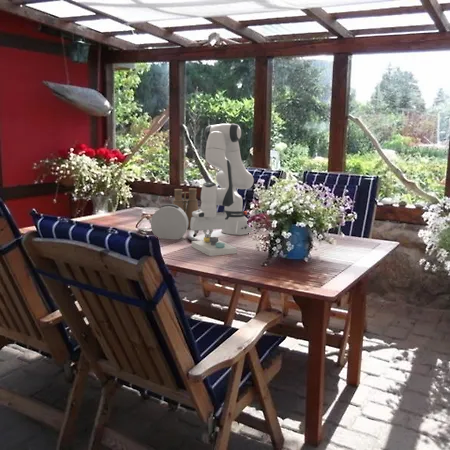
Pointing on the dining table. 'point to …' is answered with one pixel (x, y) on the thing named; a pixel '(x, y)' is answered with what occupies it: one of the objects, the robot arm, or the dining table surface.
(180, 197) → the binoculars
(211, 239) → the button charcoal
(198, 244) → the panel
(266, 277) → the dining table surface
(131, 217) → the dining table surface
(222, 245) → the button teal
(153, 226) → the grey round slab
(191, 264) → the dining table surface
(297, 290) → the dining table surface
